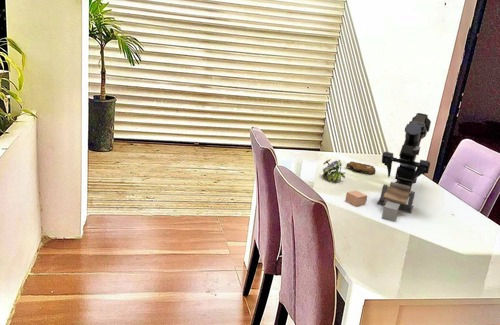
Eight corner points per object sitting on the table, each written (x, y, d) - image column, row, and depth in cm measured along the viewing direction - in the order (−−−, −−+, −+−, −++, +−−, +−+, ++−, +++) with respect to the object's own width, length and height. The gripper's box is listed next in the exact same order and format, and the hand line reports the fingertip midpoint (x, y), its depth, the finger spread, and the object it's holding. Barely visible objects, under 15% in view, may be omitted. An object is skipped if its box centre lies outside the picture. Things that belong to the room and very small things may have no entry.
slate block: (387, 200, 188) (384, 206, 180) (400, 204, 186) (397, 210, 179) (384, 212, 189) (381, 218, 182) (397, 215, 187) (394, 222, 180)
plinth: (354, 199, 198) (356, 190, 197) (365, 204, 194) (367, 195, 193) (345, 201, 195) (346, 192, 194) (356, 206, 190) (358, 197, 189)
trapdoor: (388, 186, 199) (389, 181, 198) (410, 191, 195) (411, 186, 194) (382, 200, 189) (383, 195, 187) (405, 206, 185) (406, 201, 184)
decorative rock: (346, 172, 236) (375, 178, 235) (347, 165, 235) (377, 170, 234) (344, 165, 247) (372, 170, 246) (346, 157, 246) (374, 163, 245)
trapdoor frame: (379, 199, 202) (383, 182, 200) (413, 208, 197) (417, 190, 195) (376, 204, 196) (380, 186, 194) (411, 213, 191) (415, 195, 189)
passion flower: (322, 187, 225) (323, 163, 229) (345, 187, 222) (346, 164, 226) (320, 180, 215) (321, 155, 219) (344, 180, 212) (345, 155, 216)
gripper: (387, 132, 191) (377, 164, 185) (435, 142, 184) (426, 175, 178) (387, 147, 201) (376, 177, 194) (432, 157, 194) (423, 189, 187)
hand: (400, 179), depth 188 cm, fingers open, 9 cm apart
